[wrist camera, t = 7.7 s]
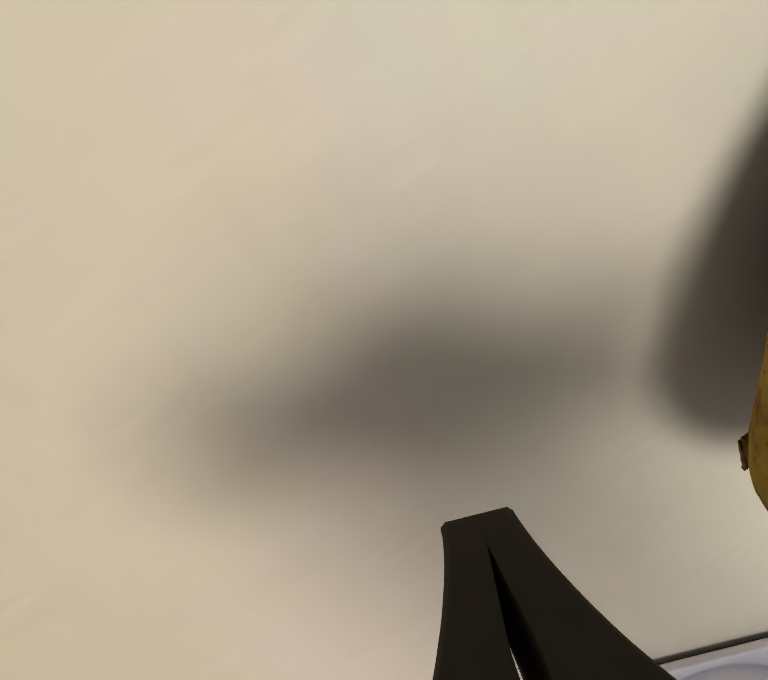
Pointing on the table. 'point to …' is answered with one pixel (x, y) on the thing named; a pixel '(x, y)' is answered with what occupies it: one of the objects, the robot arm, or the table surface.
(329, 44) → the table surface
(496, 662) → the robot arm
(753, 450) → the potato
